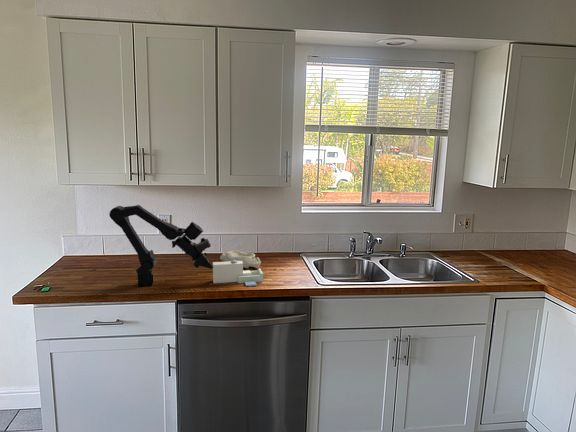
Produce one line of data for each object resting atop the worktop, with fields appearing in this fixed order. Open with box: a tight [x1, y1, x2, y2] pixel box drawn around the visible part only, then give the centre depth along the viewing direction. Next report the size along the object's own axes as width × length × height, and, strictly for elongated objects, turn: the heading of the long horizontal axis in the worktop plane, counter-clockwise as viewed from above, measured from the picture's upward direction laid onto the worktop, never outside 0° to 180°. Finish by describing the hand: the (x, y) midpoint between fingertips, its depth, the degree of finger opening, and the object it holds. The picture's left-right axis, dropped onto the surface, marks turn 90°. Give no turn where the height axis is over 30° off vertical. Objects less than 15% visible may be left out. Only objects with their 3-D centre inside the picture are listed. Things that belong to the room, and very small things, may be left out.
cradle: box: [237, 267, 264, 288], centre depth 205 cm, size 12×20×4 cm, turn 13°
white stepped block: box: [212, 260, 252, 284], centre depth 202 cm, size 18×4×10 cm, turn 103°
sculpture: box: [219, 249, 262, 269], centre depth 229 cm, size 24×11×15 cm
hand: (212, 268), depth 200 cm, fingers closed, pressing on white stepped block
